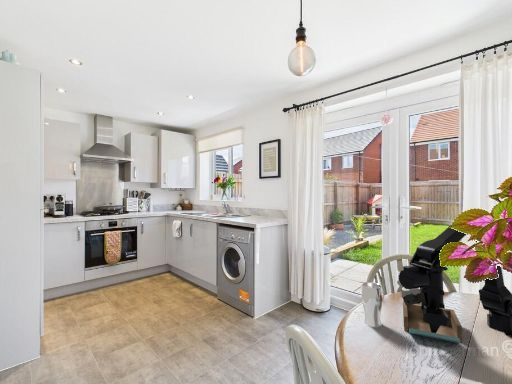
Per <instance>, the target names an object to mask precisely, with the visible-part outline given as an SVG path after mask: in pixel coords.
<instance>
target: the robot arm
mask: <svg viewBox="0 0 512 384" xmlns="http://www.w3.org/2000/svg"><path fill="white" fill-rule="evenodd" d="M450 226H451V224H449V226H448V227H447V228H445V229H444V230H443V231H442V232H441V233H440V234H439V235H438V236H436V237H435V238H433V239H428V240H426V241H424V242H422V243H420V244H419V245H417V247H416V249H415V251H414V253H413V255H412V258H411V259H410V261H409V265H403V270H401V271H400V272H399V274H398V281H399V283H400V286H402V287H403V288H404V289H405V290H402V291H401V297H402V300H403V302H405V305H406V306H410V305H412V304H419V303H421V309H422V315H423V321H424V322H426V323H429V326H430V330H431V332H432V333H436V332H437V331H438V329H439V327H440V326H441V325H442V326H447V327H448V326H449V318H448V315H447V314H446V313H445V312H444V311H443V309H446V307H445V303H444V296H445V291H444V278H443V277H444V273H443V272H444V271H445V272H446V271H448V270H449V269H448V267H447V266H445V267H441V266H440V260H439V253H440V250H441V249H442V247H443V246H444V245H446V244H447V243H450V242H458V243H459V242H460V241H461V240H463V238H464V237H466V236H467V235H466V234H464V233H461V232H458V231H456V230H454V229H451V228H449V227H450ZM475 243H477V241H475ZM497 270H498V274H499V278H497V279H493V280H489V279H486V280H483V281H484V285H483V287H482V288H480V289H478V294H479V301H481V305H482V309H484V310H485V311H488V313H487V314H486V324H487V326H488V328H490V329H493V330H496V331H498V332H502V333H504V335H505V336H507V337H512V292H511V291H510V290H509V289H508V288H507V287H506V285H505V281H504V277H503V276H504V275H503V270H502V266H501V267H500V266H497ZM415 288H419V289H415ZM406 289H412V290H406ZM441 308H443V309H441Z"/></svg>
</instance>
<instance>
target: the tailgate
mask: <svg viewBox="0 0 512 384" xmlns="http://www.w3.org/2000/svg"><path fill="white" fill-rule="evenodd" d="M408 333H409V334H410V335H412V334H413V335H416V336H422V337H425V338H431V339H435V340H440V341H445V342H446V341H447V342H450V343H455V344H458V343H461V342H460V338H457V337H452V336H447V335H442V334H437V333H432V332H427V331H422V330H417V329H412V328H410V329H409V330H408Z"/></svg>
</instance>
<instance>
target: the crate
mask: <svg viewBox="0 0 512 384" xmlns="http://www.w3.org/2000/svg"><path fill="white" fill-rule="evenodd" d="M441 309H443V308H441ZM443 311H444V312H445V313H446V314H447V315H448V318H449V326H448V327H447V326H442V325H441V326H440V327H439V329H438V331H437V332H436V333H437V334H442V335H447V336H452V337H457V338H460V342H459V343H463V342H464V341H463V327H462V324H461V322H460V320H459V318H458V316H457V314H456V311H455V309H449V308H445V309H443ZM402 316H403V331H404V332H409V329H410V328H412V329H417V330H422V331H427V332H431V330H430V326H429V323H426V322H424V321H423V315H422V309H421V305H419V304H412V305H410V306H406V305H405V302H404V301H403V302H402Z"/></svg>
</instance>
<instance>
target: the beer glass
mask: <svg viewBox="0 0 512 384" xmlns="http://www.w3.org/2000/svg"><path fill="white" fill-rule="evenodd" d="M361 285H362V286H361V299H362V301H361V302H362V307H363V311H364V321H363V323H364V325H366V326H368V327H370V328H376V329H377V328H381V327H382V325H383V324H382V319H381V317H382V316H381V315H382V308H383V302H384V299H383V289H382V287H383V286H382V284H379V283H377V282H373V281H372V282H371V281H369V282H368V281H367V282H362V284H361Z"/></svg>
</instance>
